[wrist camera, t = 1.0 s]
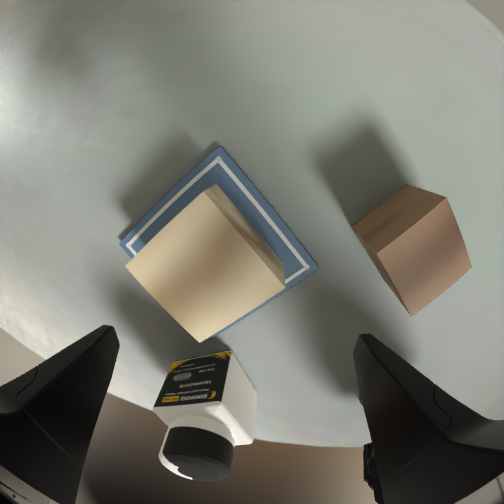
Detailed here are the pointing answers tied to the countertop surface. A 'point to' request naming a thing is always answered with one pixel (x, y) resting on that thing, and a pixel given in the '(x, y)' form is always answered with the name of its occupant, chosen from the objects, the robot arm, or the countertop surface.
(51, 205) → the countertop surface
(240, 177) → the blueprint board
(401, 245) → the walnut cube
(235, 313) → the maple slab
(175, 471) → the medicine bottle
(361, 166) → the countertop surface
